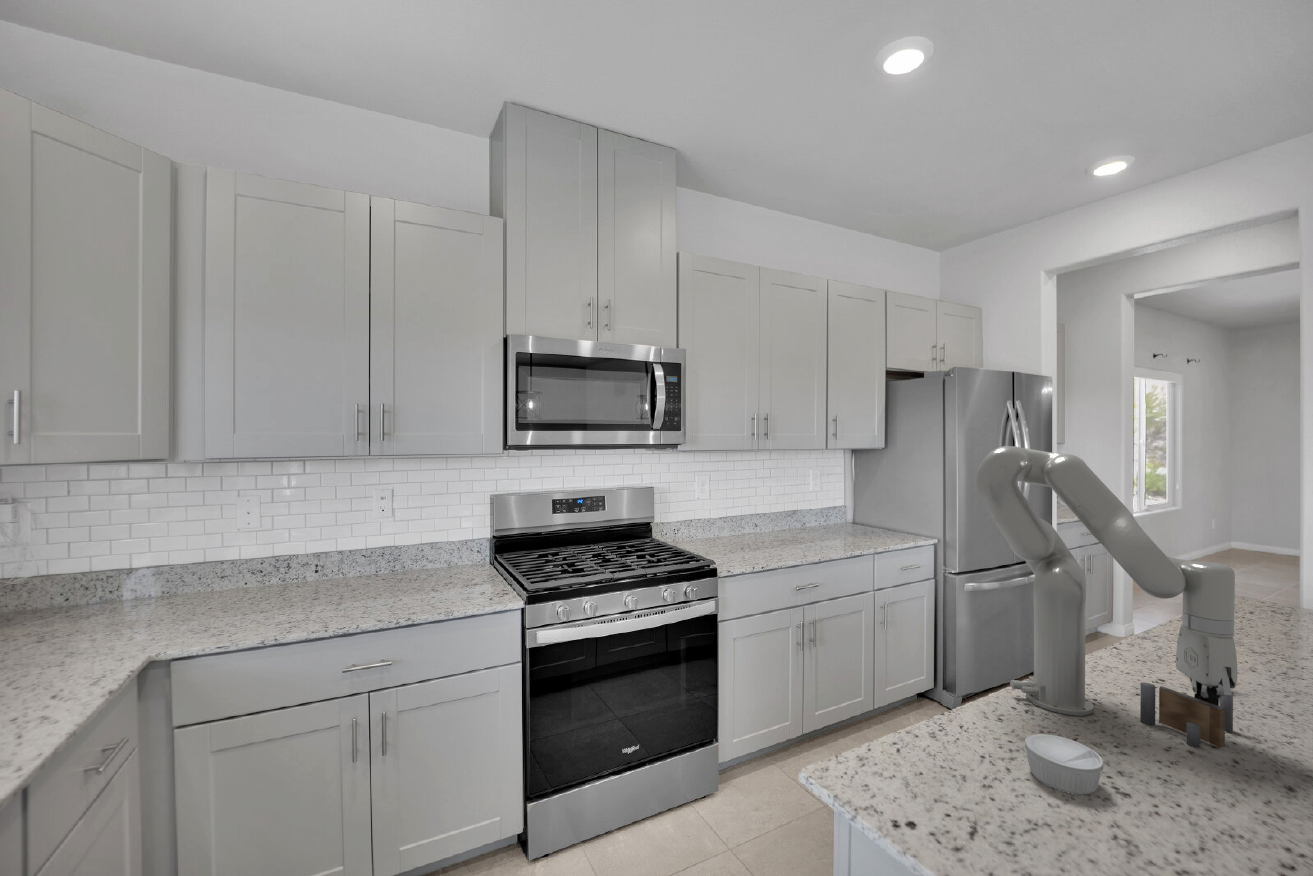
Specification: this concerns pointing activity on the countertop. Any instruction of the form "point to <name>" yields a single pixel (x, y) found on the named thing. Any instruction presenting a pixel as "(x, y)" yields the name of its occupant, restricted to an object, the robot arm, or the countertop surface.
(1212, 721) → the gate
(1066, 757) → the ramekin
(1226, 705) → the post
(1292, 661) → the countertop surface
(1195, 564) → the robot arm
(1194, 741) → the gate frame
